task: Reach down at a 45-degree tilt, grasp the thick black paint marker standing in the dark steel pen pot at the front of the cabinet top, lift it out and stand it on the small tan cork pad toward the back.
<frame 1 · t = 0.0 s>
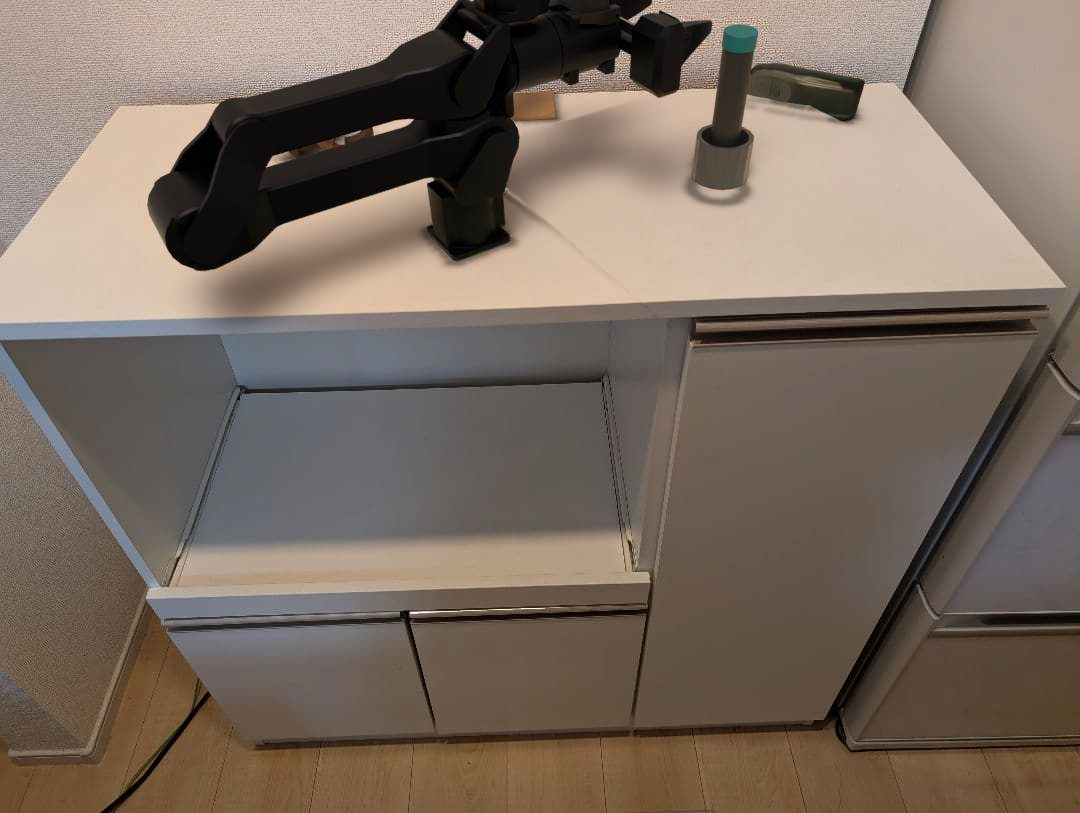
hand: (680, 11, 79), 17 cm above the cabinet, tool horizontal, fingers open, 9 cm apart
pen pot: (717, 188, 87), on the cabinet
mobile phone: (792, 111, 99), on the cabinet
brown curved ring piece: (326, 159, 94), on the cabinet
cork pad: (518, 107, 101), on the cabinet
marker: (719, 175, 86), point 1 cm above the cabinet, touching pen pot
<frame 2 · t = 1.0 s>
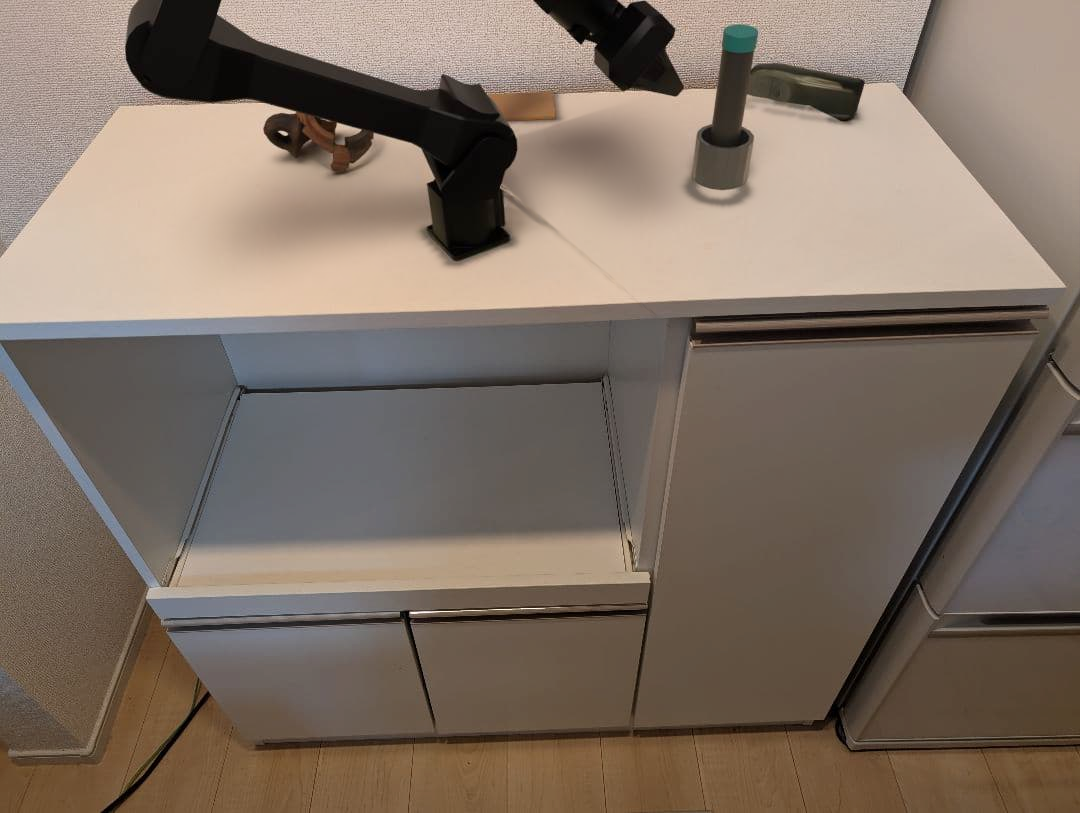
hand: (659, 71, 75), 14 cm above the cabinet, tool tilted 45°, fingers open, 9 cm apart
nothing on the cabinet moved.
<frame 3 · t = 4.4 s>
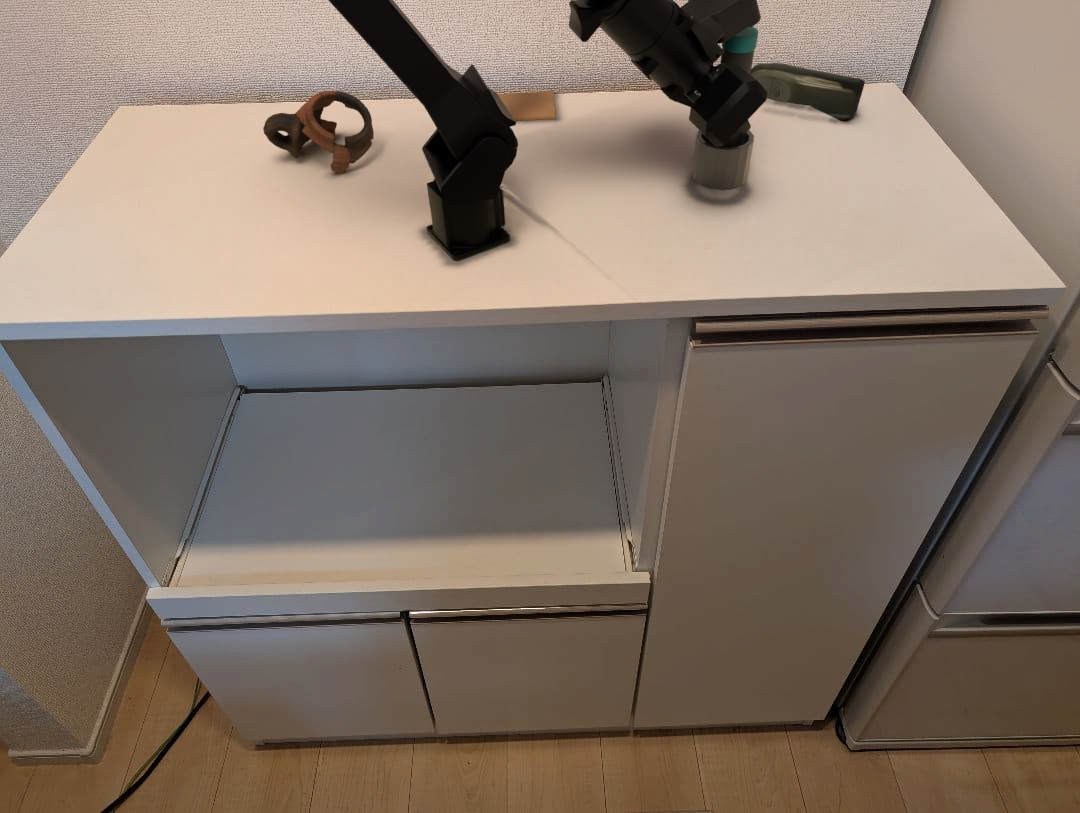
hand: (739, 123, 82), 7 cm above the cabinet, tool tilted 45°, fingers closed on marker, 3 cm apart
marker: (719, 175, 86), point 2 cm above the cabinet, touching gripper, pen pot
everything else where it was.
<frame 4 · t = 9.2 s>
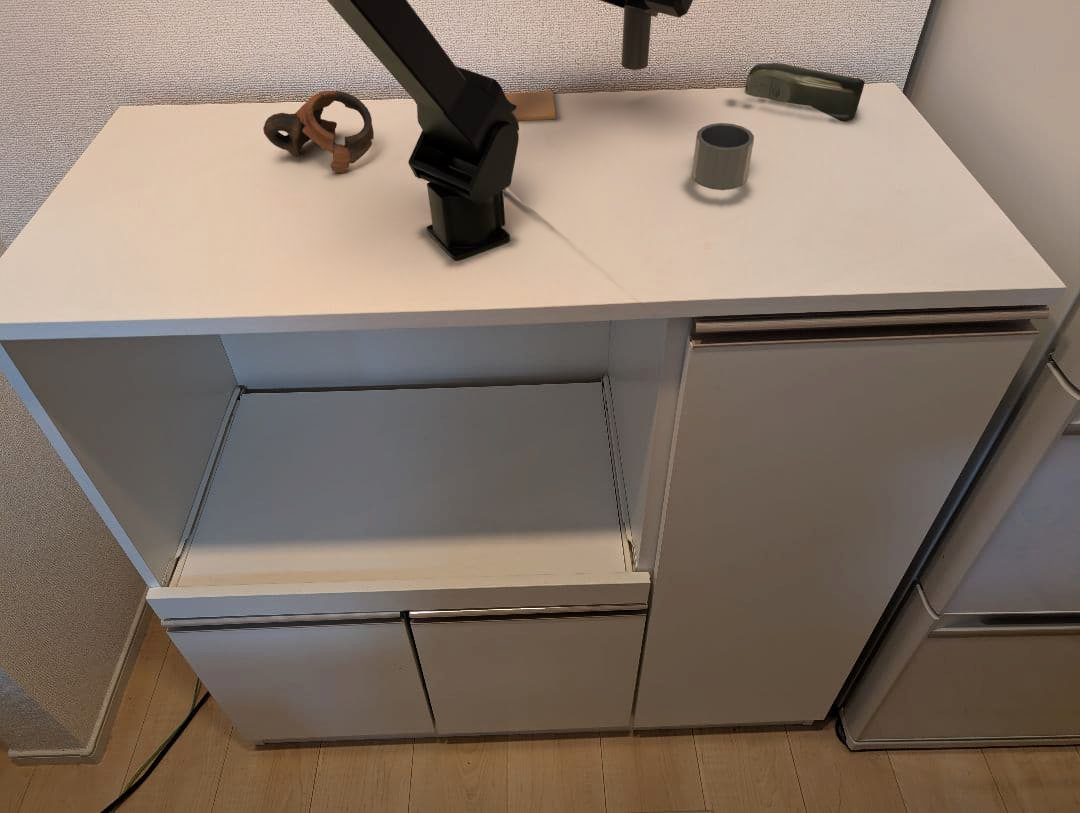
hand: (644, 9, 87), 14 cm above the cabinet, tool tilted 45°, fingers closed on marker, 3 cm apart
marker: (634, 64, 91), point 8 cm above the cabinet, touching gripper
everything else where it was.
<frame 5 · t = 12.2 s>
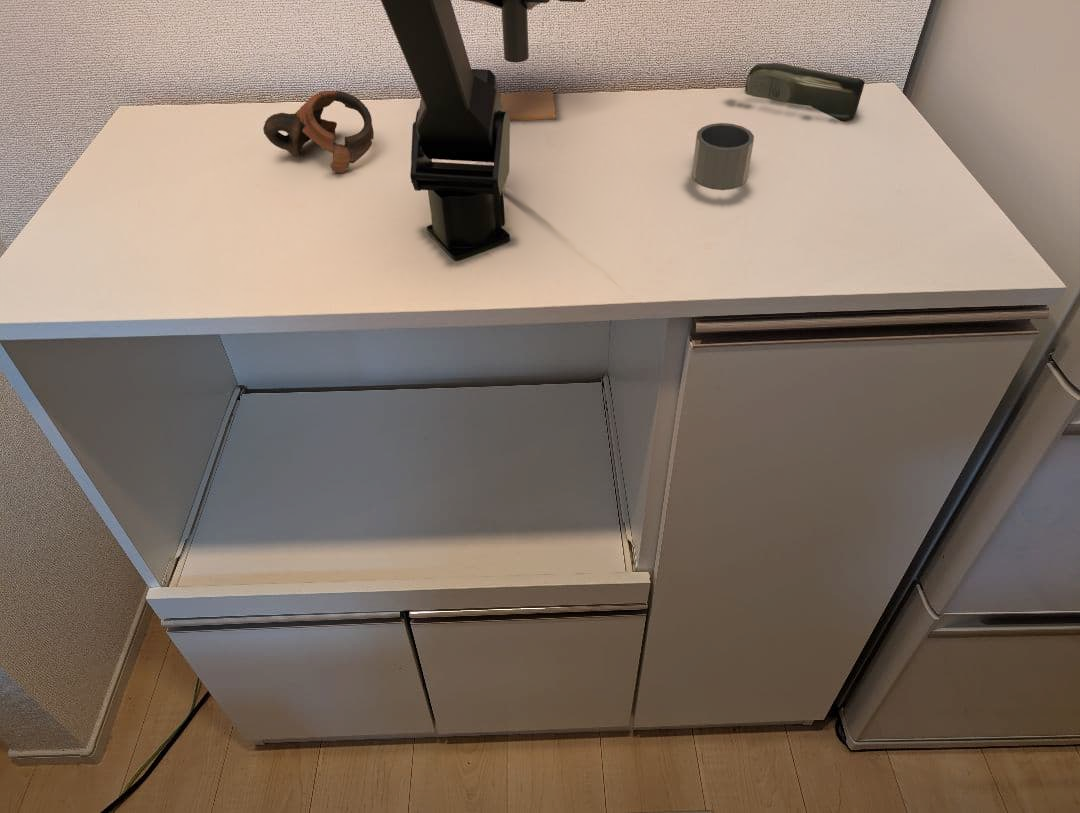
hand: (516, 5, 94), 12 cm above the cabinet, tool tilted 45°, fingers closed on marker, 3 cm apart
marker: (516, 57, 97), point 6 cm above the cabinet, touching gripper
everything else where it was.
when the fingers open (6 cm above the cabinet, at t = 14.2 s): marker stays where it is, resting on cork pad.
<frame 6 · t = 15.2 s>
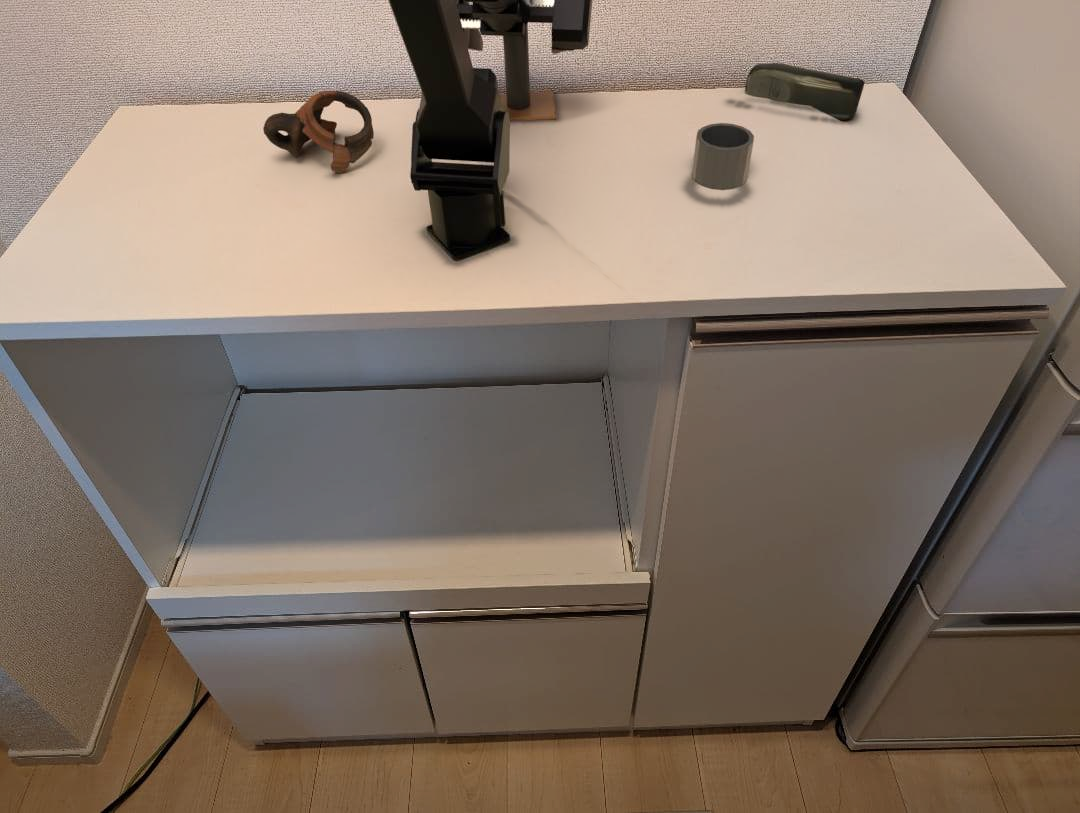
hand: (518, 48, 97), 7 cm above the cabinet, tool tilted 45°, fingers open, 9 cm apart
marker: (518, 104, 101), resting on cork pad
everything else where it was.
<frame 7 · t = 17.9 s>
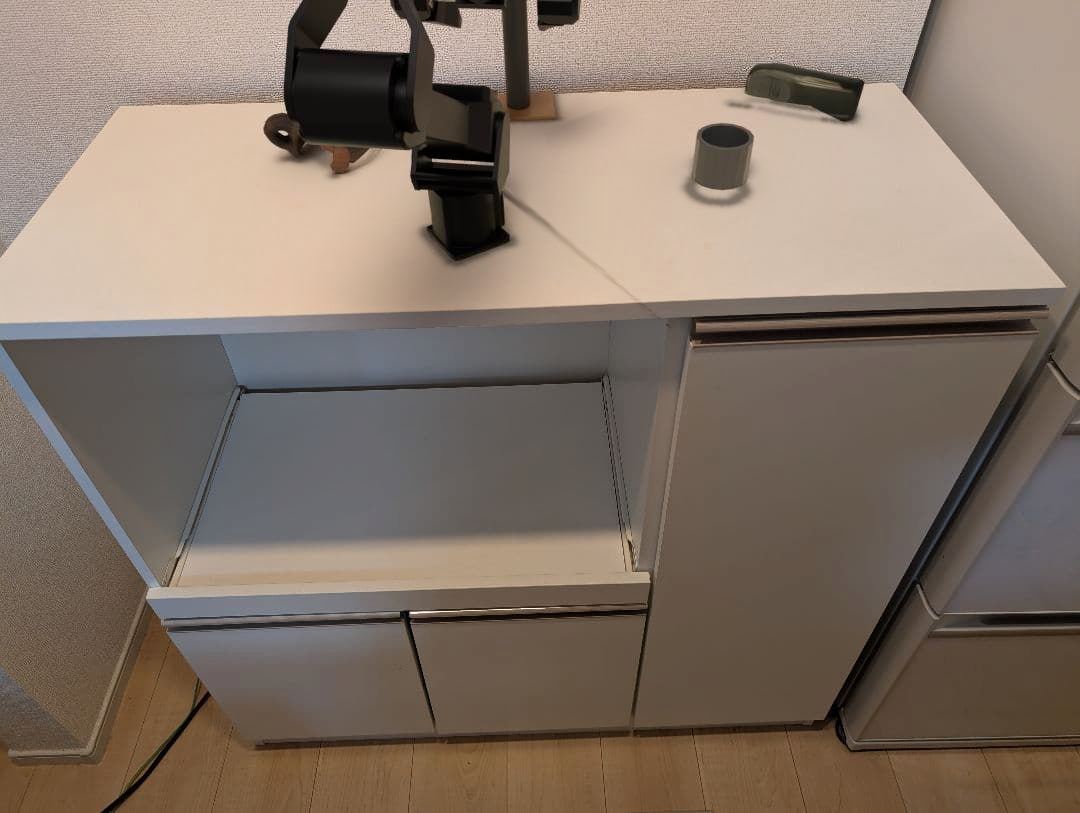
hand: (501, 25, 87), 13 cm above the cabinet, tool tilted 45°, fingers open, 9 cm apart
nothing on the cabinet moved.
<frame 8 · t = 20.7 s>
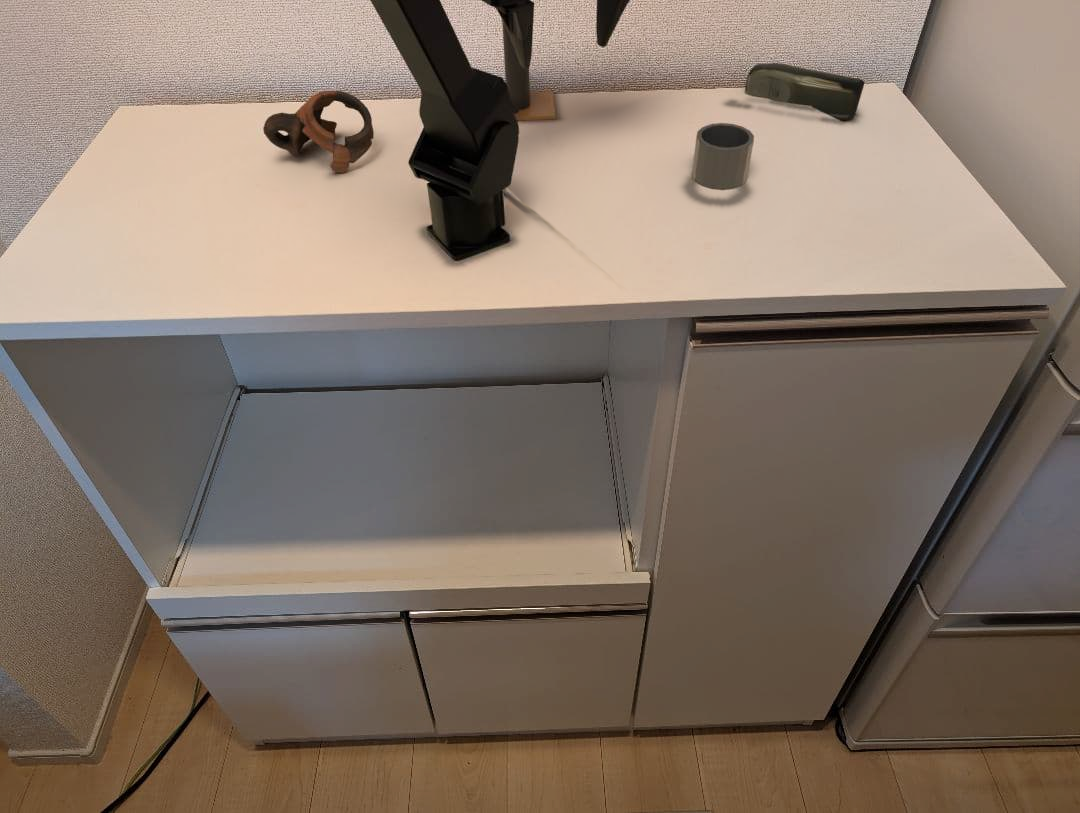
hand: (564, 56, 80), 13 cm above the cabinet, tool pointing down, fingers open, 9 cm apart
nothing on the cabinet moved.
at the end: marker 0.0 cm from the cork pad (horizontally); marker touching cork pad; the gripper is holding nothing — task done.
